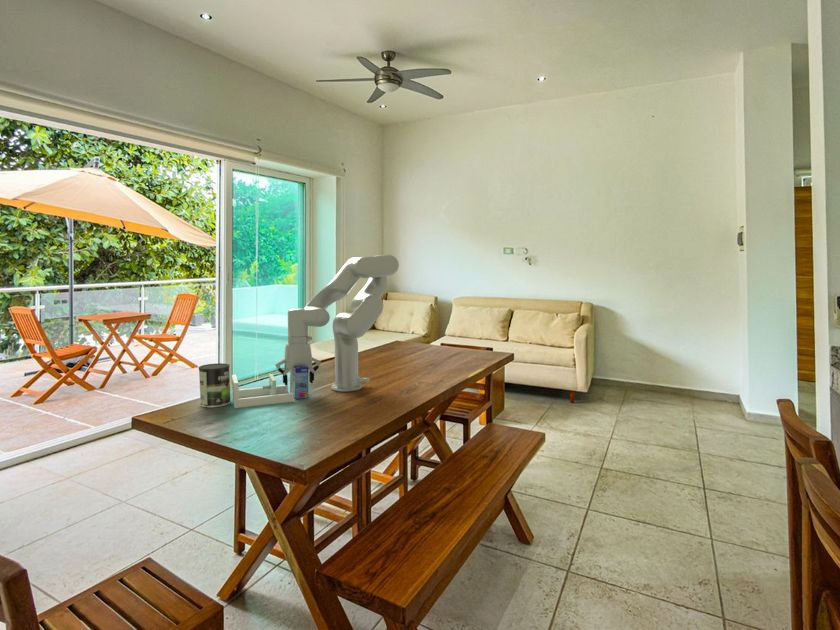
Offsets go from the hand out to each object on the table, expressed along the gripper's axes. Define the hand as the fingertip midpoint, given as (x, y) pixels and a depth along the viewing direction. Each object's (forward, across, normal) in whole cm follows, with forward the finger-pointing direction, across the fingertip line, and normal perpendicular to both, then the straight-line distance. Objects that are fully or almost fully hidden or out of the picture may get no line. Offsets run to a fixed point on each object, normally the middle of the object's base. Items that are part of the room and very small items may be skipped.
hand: (298, 383), depth 179 cm
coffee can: (+5, +30, -2) cm, 30 cm away
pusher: (+5, +11, 0) cm, 12 cm away
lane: (+5, +13, 0) cm, 14 cm away
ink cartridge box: (+5, 0, 0) cm, 5 cm away
